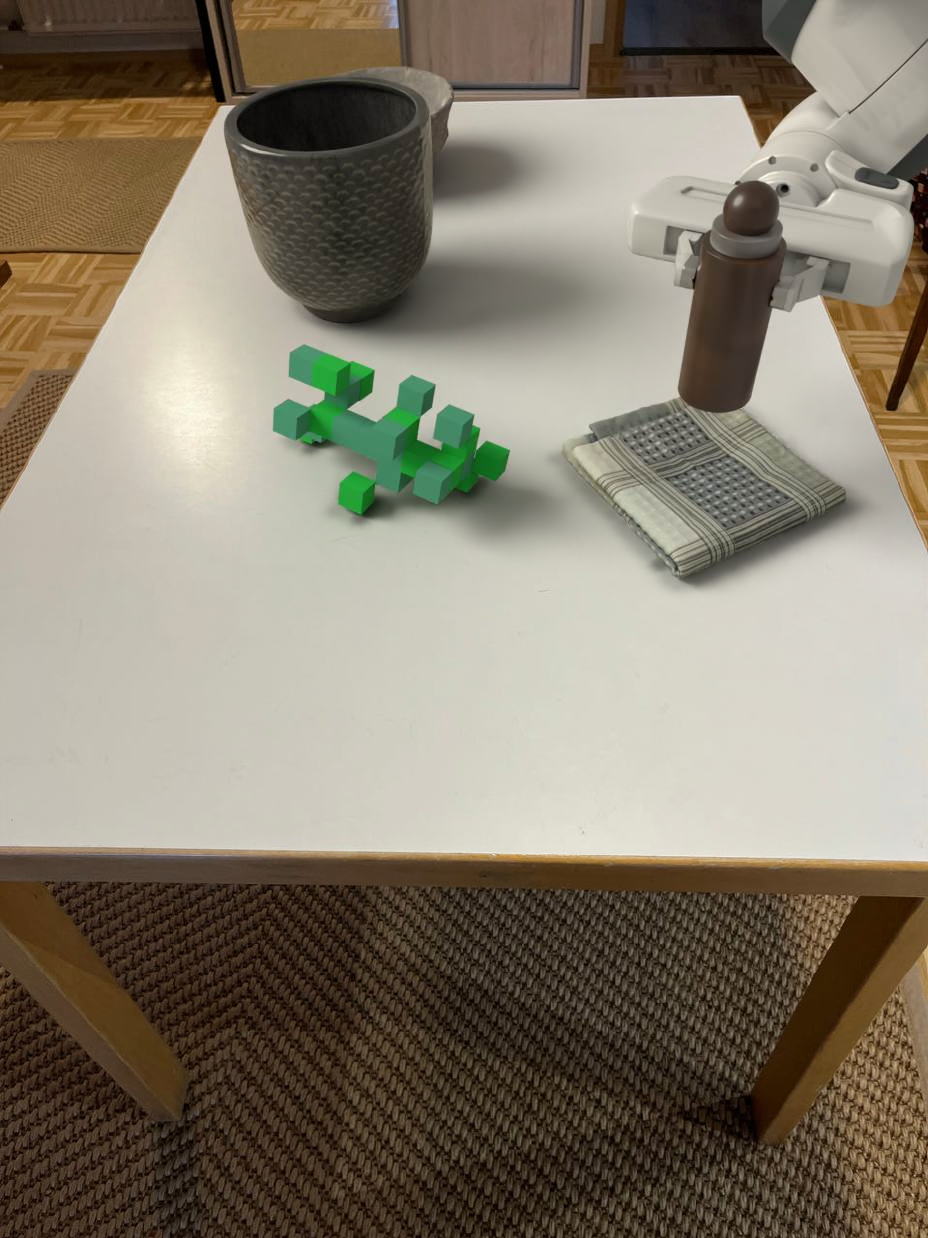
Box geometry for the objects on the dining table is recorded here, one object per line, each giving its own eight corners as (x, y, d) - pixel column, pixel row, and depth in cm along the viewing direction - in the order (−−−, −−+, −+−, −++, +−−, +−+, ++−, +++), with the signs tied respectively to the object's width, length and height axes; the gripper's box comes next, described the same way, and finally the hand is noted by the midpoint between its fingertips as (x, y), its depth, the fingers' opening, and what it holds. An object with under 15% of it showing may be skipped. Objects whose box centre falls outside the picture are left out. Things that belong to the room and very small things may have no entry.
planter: (316, 242, 110) (287, 65, 96) (468, 269, 105) (462, 85, 91) (228, 327, 99) (180, 140, 84) (394, 362, 93) (373, 168, 79)
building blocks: (507, 468, 86) (532, 360, 75) (480, 572, 79) (503, 470, 68) (300, 417, 87) (296, 302, 76) (255, 516, 80) (243, 405, 69)
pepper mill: (752, 374, 73) (801, 166, 61) (749, 417, 69) (801, 205, 57) (680, 366, 74) (714, 161, 62) (674, 408, 70) (709, 199, 58)
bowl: (375, 132, 131) (366, 53, 124) (489, 167, 123) (488, 84, 115) (268, 185, 121) (252, 103, 114) (384, 227, 112) (376, 141, 105)
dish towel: (851, 508, 77) (862, 479, 74) (676, 588, 71) (682, 558, 69) (710, 395, 88) (716, 366, 85) (549, 456, 82) (550, 427, 80)
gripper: (666, 140, 73) (597, 215, 65) (937, 187, 66) (896, 278, 58) (656, 218, 78) (591, 297, 70) (908, 270, 71) (867, 364, 63)
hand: (732, 289), depth 64 cm, fingers closed on pepper mill, 5 cm apart
